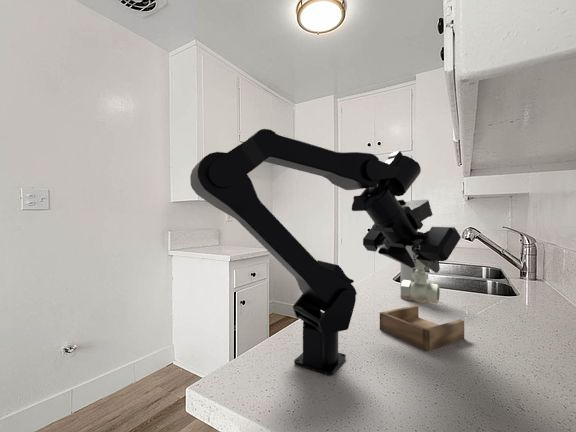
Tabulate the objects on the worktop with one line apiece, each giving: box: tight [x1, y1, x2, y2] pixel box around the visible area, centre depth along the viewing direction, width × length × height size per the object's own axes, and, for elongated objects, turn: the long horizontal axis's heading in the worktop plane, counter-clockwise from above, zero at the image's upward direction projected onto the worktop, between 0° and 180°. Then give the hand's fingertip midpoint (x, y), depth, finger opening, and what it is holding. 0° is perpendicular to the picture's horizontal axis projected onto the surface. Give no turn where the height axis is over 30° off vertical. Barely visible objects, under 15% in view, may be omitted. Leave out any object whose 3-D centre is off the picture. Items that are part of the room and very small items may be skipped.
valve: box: [400, 245, 441, 305], centre depth 57 cm, size 7×7×12 cm
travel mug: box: [400, 230, 425, 302], centre depth 83 cm, size 6×7×20 cm
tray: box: [379, 304, 465, 352], centre depth 57 cm, size 11×11×4 cm
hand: (425, 268), depth 58 cm, fingers closed on valve, 5 cm apart
